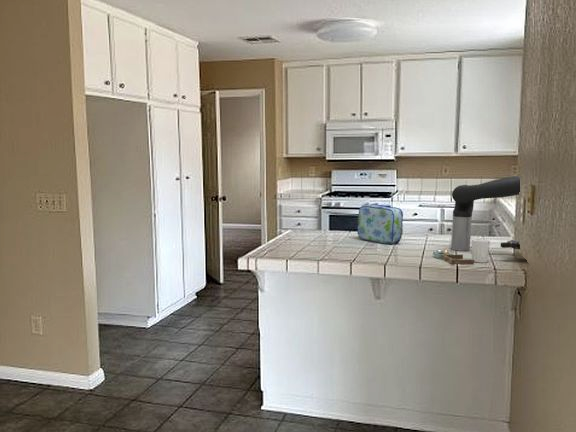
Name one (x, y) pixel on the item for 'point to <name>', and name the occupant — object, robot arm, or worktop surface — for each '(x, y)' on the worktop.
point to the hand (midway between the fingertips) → (501, 245)
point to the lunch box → (380, 223)
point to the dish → (440, 255)
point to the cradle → (451, 260)
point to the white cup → (480, 250)
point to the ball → (439, 251)
